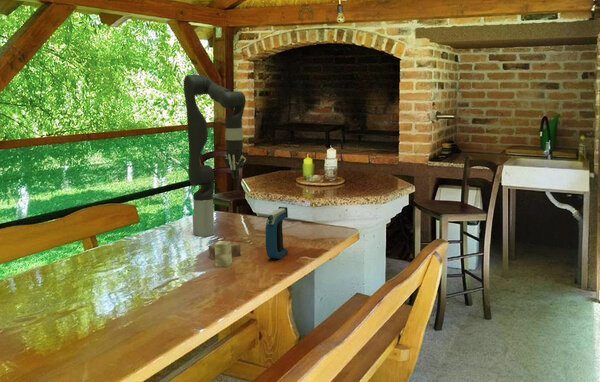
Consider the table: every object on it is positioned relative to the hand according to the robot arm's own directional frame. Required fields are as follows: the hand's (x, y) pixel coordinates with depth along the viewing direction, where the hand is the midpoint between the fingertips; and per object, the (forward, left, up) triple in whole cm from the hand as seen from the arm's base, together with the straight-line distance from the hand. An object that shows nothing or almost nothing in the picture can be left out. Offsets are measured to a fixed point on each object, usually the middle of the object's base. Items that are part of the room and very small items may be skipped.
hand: (234, 178), depth 272 cm
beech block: (+14, -25, -31) cm, 42 cm away
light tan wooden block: (+4, -20, -28) cm, 35 cm away
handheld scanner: (+25, -4, -31) cm, 40 cm away
